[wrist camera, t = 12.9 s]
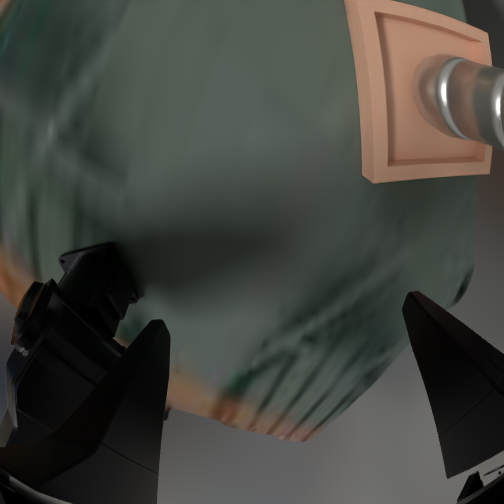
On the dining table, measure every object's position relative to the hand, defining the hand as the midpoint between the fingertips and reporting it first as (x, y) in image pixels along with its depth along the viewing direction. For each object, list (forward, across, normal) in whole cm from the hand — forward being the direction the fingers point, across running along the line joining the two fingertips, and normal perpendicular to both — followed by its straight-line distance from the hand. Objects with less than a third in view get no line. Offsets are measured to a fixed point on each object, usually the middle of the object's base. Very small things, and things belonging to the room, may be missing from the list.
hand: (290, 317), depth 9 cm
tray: (+14, -14, -7) cm, 21 cm away
